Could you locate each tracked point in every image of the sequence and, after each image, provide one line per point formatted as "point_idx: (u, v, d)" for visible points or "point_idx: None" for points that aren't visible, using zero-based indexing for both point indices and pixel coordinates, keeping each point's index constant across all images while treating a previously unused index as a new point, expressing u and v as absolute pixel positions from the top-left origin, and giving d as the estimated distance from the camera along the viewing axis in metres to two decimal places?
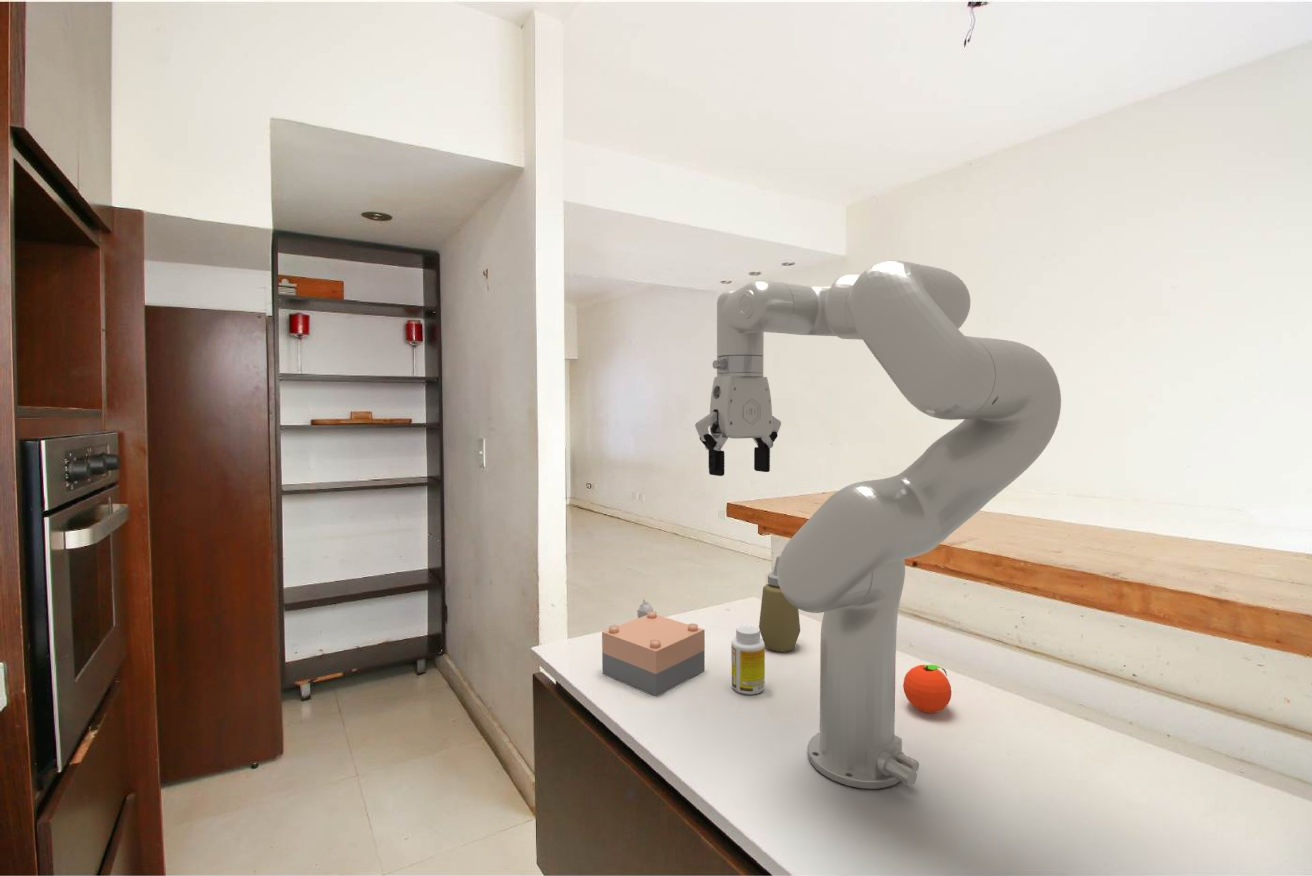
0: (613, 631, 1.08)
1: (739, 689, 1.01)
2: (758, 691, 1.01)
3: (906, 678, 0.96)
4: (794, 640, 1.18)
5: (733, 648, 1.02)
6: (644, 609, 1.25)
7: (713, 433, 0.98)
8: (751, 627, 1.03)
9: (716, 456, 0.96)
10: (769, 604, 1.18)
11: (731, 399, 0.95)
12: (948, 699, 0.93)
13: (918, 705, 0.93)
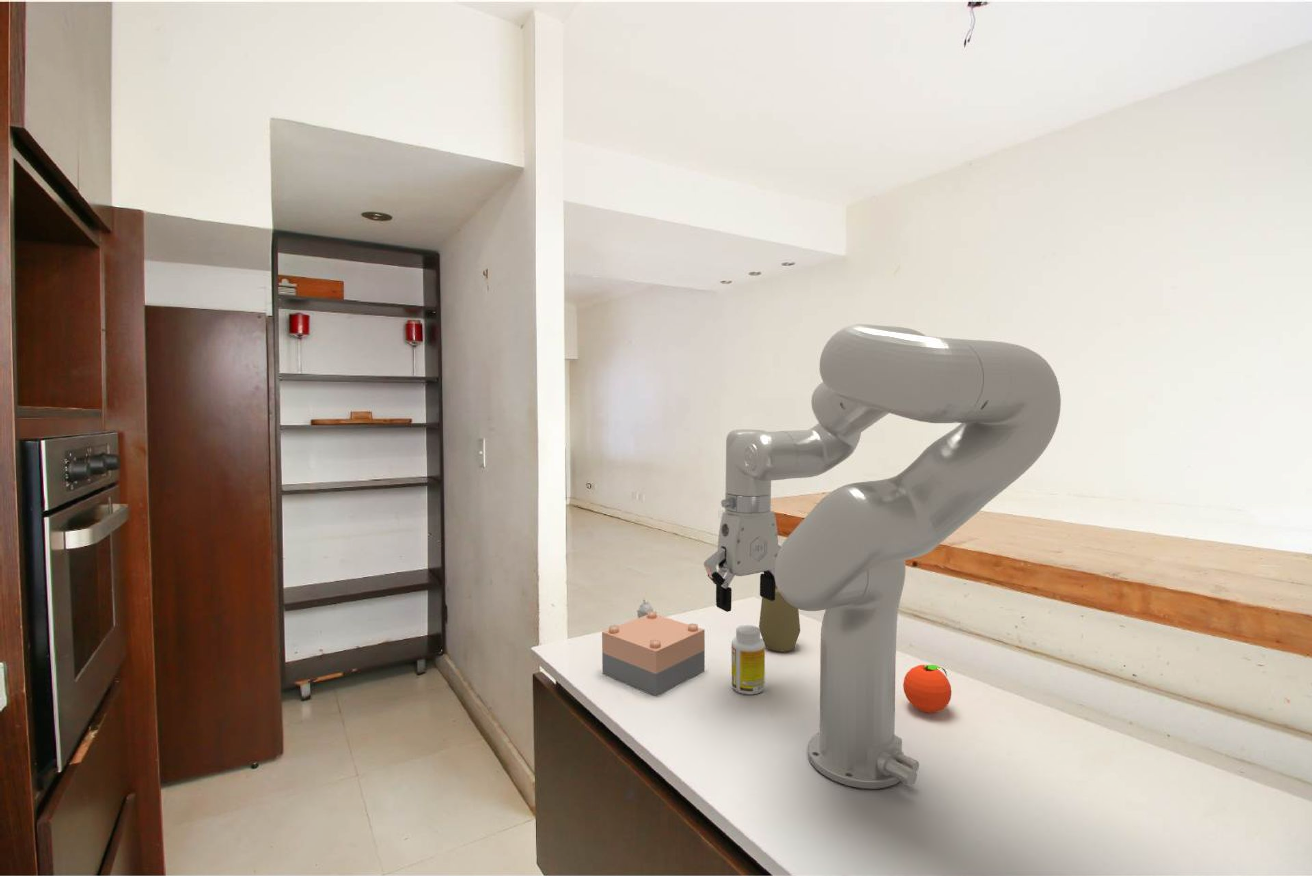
0: (613, 631, 1.08)
1: (739, 689, 1.01)
2: (758, 691, 1.01)
3: (906, 678, 0.96)
4: (794, 640, 1.18)
5: (733, 648, 1.02)
6: (645, 609, 1.25)
7: (721, 567, 1.01)
8: (751, 627, 1.03)
9: (723, 592, 0.99)
10: (769, 604, 1.18)
11: (739, 539, 0.98)
12: (948, 699, 0.93)
13: (918, 705, 0.93)
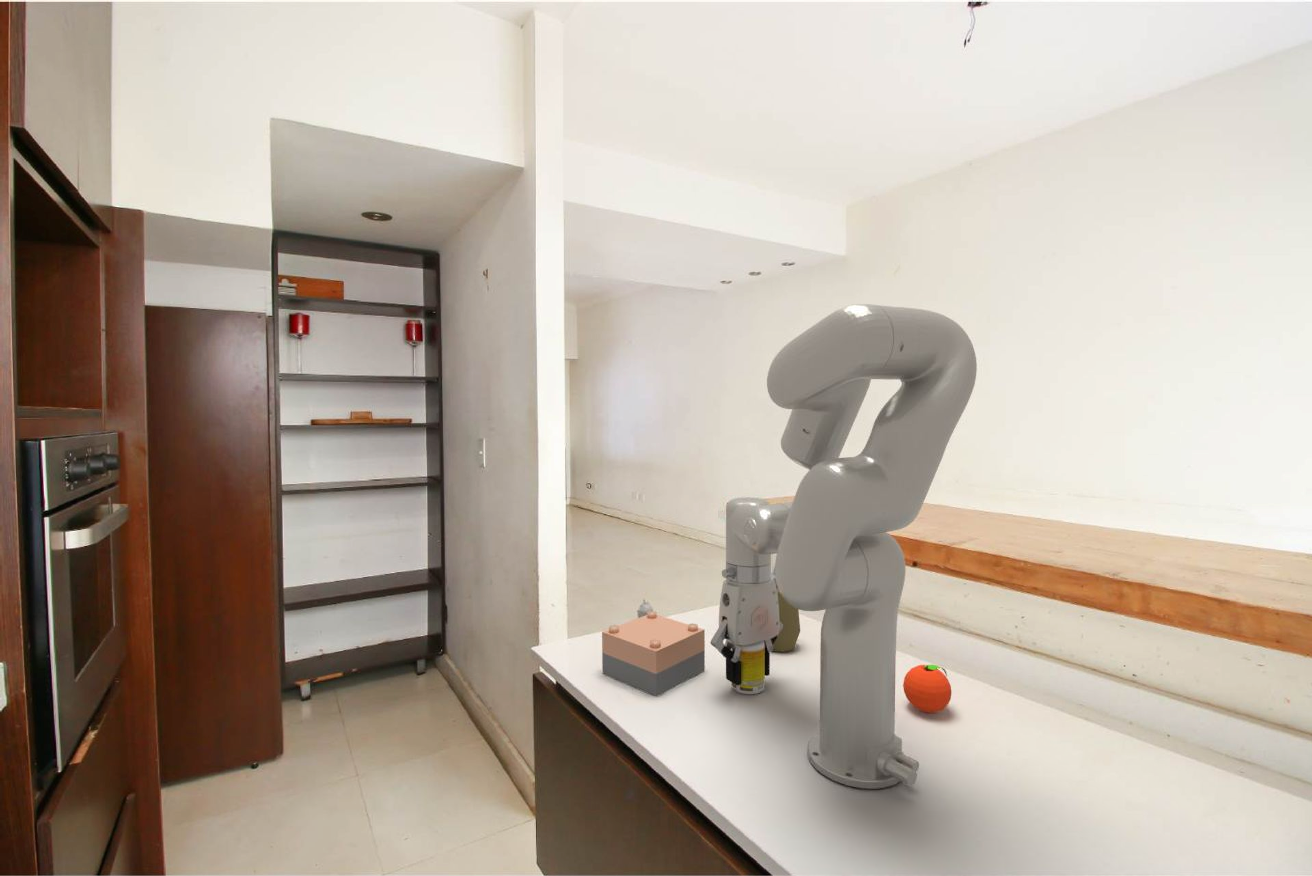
0: (613, 631, 1.08)
1: (739, 689, 1.01)
2: (758, 691, 1.01)
3: (906, 678, 0.96)
4: (794, 640, 1.18)
5: None
6: (645, 609, 1.25)
7: None
8: None
9: (733, 666, 1.00)
10: None
11: (740, 610, 0.98)
12: (948, 699, 0.93)
13: (918, 705, 0.93)
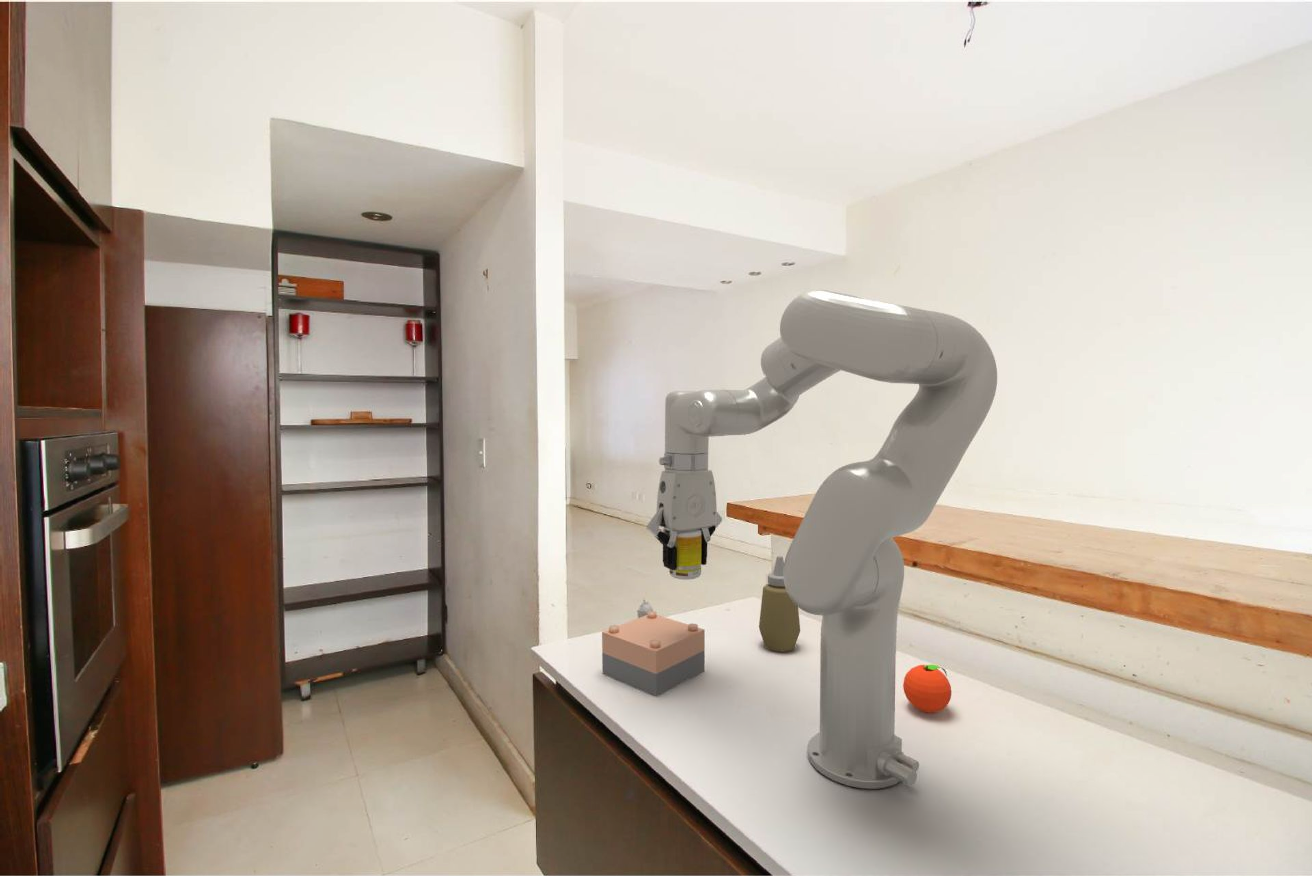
0: (613, 631, 1.08)
1: (675, 574, 1.04)
2: (693, 576, 1.04)
3: (906, 678, 0.96)
4: (794, 640, 1.18)
5: None
6: (645, 609, 1.25)
7: (659, 524, 1.04)
8: None
9: (669, 552, 1.03)
10: (769, 604, 1.18)
11: (675, 495, 1.01)
12: (948, 699, 0.93)
13: (918, 705, 0.93)
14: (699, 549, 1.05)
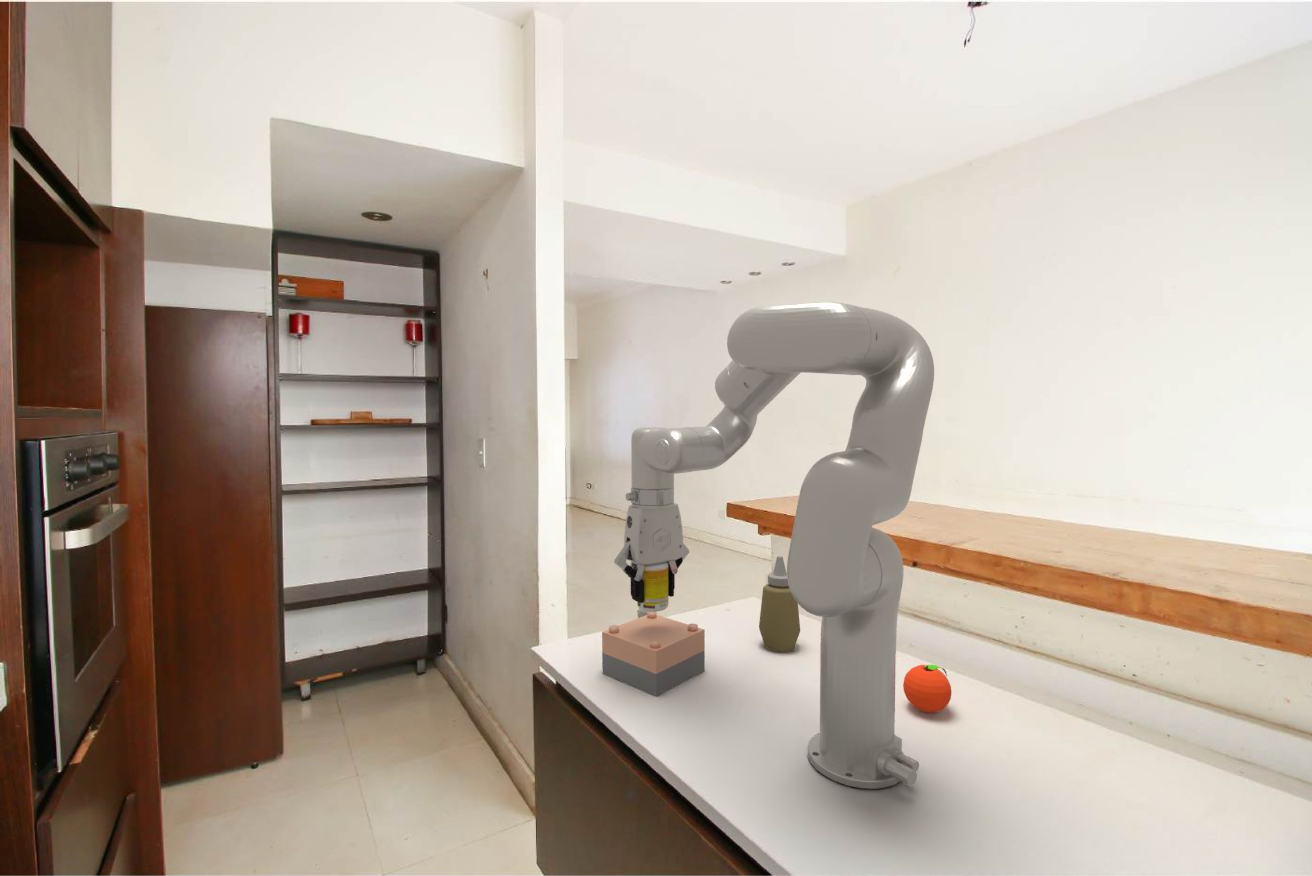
0: (613, 631, 1.08)
1: (642, 607, 1.07)
2: (660, 608, 1.06)
3: (906, 678, 0.96)
4: (794, 640, 1.18)
5: None
6: None
7: (627, 558, 1.07)
8: None
9: (636, 585, 1.06)
10: (769, 604, 1.18)
11: (641, 530, 1.04)
12: (948, 699, 0.93)
13: (918, 705, 0.93)
14: (666, 581, 1.07)
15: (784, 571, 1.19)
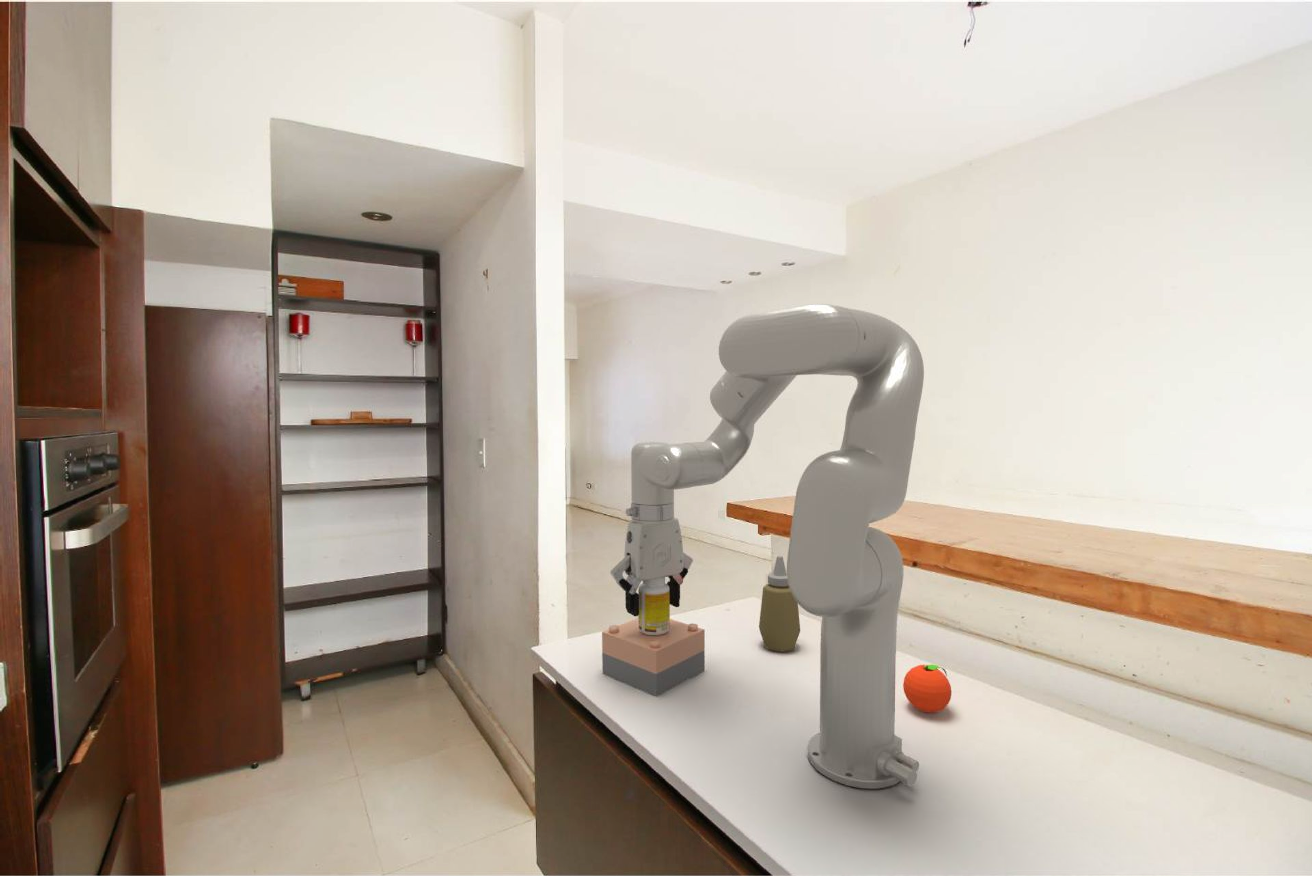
0: (613, 631, 1.08)
1: (644, 630, 1.07)
2: (661, 632, 1.06)
3: (906, 678, 0.96)
4: (794, 640, 1.18)
5: (639, 592, 1.07)
6: None
7: (627, 573, 1.07)
8: None
9: (631, 598, 1.05)
10: (769, 604, 1.18)
11: (641, 546, 1.04)
12: (948, 699, 0.93)
13: (918, 705, 0.93)
14: (667, 605, 1.07)
15: (784, 571, 1.19)
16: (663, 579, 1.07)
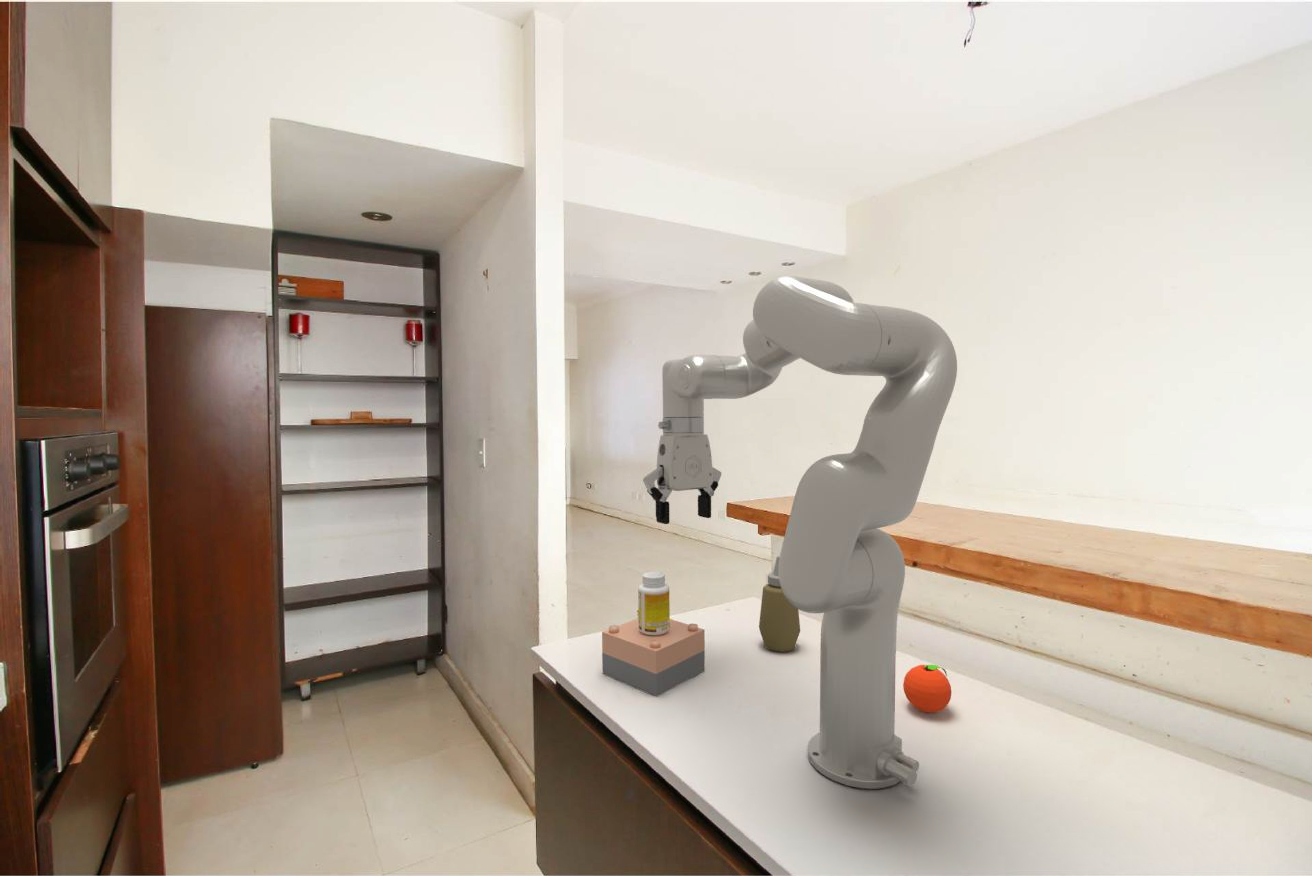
0: (613, 631, 1.08)
1: (644, 630, 1.07)
2: (661, 632, 1.06)
3: (906, 678, 0.96)
4: (794, 640, 1.18)
5: (639, 592, 1.07)
6: None
7: (660, 485, 1.10)
8: (657, 573, 1.09)
9: (662, 506, 1.08)
10: (769, 604, 1.18)
11: (674, 456, 1.07)
12: (948, 699, 0.93)
13: (918, 705, 0.93)
14: (667, 605, 1.07)
15: None
16: (663, 579, 1.07)
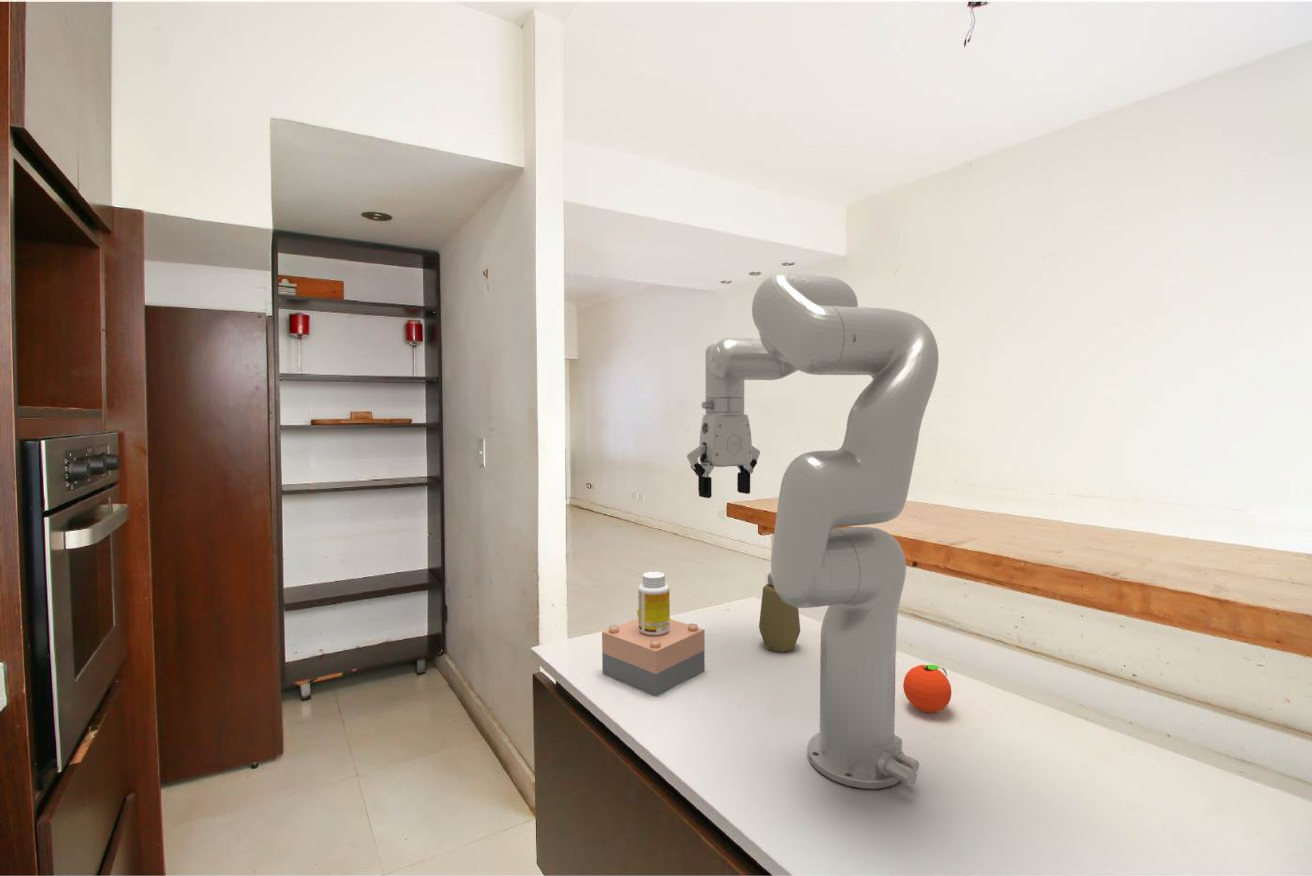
0: (613, 631, 1.08)
1: (644, 630, 1.07)
2: (662, 632, 1.06)
3: (906, 678, 0.96)
4: (794, 640, 1.18)
5: (639, 592, 1.08)
6: None
7: (702, 462, 1.17)
8: (657, 573, 1.09)
9: (704, 481, 1.15)
10: (769, 604, 1.18)
11: (717, 434, 1.14)
12: (948, 699, 0.93)
13: (918, 705, 0.93)
14: (667, 605, 1.07)
15: None
16: (663, 579, 1.07)
